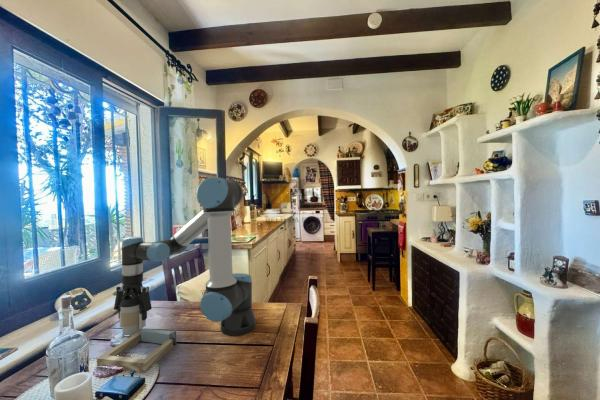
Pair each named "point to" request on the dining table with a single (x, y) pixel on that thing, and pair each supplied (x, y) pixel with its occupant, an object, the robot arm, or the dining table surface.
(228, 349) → the dining table surface
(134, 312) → the coffee cup
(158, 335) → the leg
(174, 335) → the pin
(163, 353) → the frame
